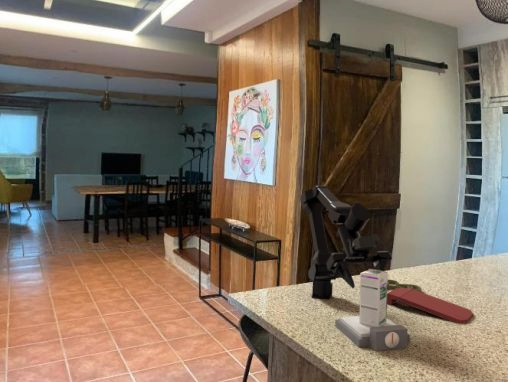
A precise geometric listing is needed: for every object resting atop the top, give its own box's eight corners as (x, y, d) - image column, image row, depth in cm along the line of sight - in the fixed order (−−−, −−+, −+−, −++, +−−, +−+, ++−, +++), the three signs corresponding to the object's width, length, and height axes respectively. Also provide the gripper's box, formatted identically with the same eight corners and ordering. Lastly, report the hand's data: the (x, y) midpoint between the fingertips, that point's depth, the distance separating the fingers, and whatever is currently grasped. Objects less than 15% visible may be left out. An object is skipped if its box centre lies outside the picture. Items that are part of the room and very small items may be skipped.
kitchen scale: (335, 326, 123) (335, 309, 123) (381, 322, 127) (382, 306, 127) (365, 353, 106) (366, 333, 106) (417, 347, 110) (418, 328, 110)
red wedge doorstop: (471, 325, 136) (396, 297, 152) (475, 311, 136) (399, 284, 151) (461, 337, 127) (382, 305, 143) (465, 321, 126) (385, 291, 142)
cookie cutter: (368, 289, 161) (368, 284, 161) (378, 282, 171) (378, 277, 171) (417, 298, 151) (417, 293, 151) (425, 290, 161) (425, 285, 161)
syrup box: (378, 328, 114) (380, 275, 113) (358, 323, 118) (360, 271, 117) (386, 322, 119) (389, 271, 118) (366, 317, 122) (368, 268, 121)
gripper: (332, 225, 121) (348, 273, 111) (390, 224, 126) (410, 270, 116) (320, 246, 129) (334, 293, 119) (374, 245, 134) (393, 290, 124)
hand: (368, 286), depth 120 cm, fingers open, 9 cm apart
